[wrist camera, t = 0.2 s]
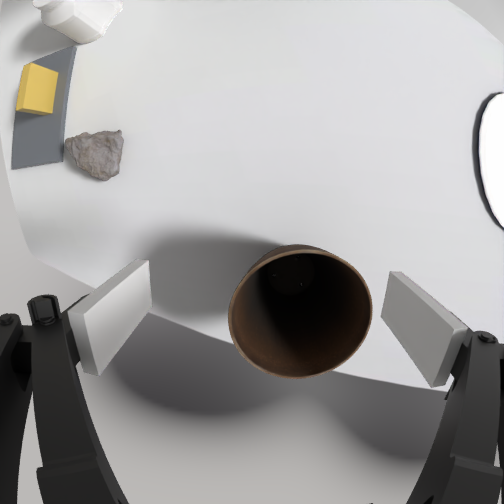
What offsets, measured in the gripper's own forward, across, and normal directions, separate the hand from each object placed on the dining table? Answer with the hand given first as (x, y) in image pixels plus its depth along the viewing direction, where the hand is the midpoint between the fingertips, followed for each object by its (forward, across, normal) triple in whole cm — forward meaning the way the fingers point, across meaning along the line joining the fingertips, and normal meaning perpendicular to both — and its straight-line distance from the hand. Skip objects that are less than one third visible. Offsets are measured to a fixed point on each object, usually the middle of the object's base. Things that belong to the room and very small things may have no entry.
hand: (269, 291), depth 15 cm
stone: (+28, -26, +10) cm, 40 cm away
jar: (+28, -32, +37) cm, 56 cm away
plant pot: (+28, +4, -8) cm, 29 cm away
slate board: (+28, -42, +20) cm, 54 cm away
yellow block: (+27, -38, +22) cm, 52 cm away
